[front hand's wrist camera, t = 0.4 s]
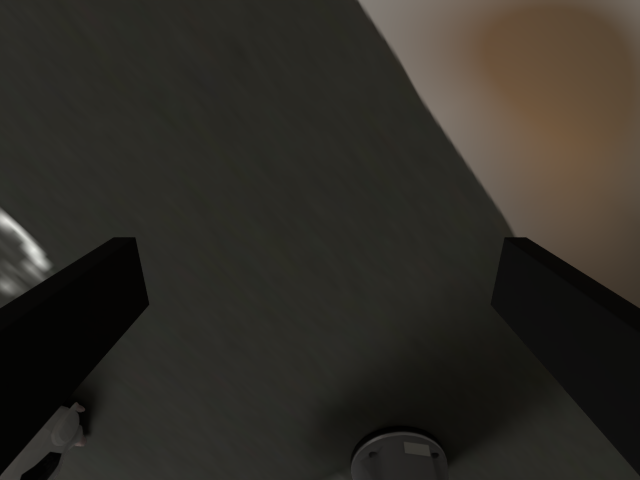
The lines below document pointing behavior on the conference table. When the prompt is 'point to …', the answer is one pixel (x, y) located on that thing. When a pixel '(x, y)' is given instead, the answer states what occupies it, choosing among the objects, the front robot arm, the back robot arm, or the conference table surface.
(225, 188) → the conference table surface
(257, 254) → the conference table surface
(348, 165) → the conference table surface
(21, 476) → the toy
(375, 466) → the front robot arm
